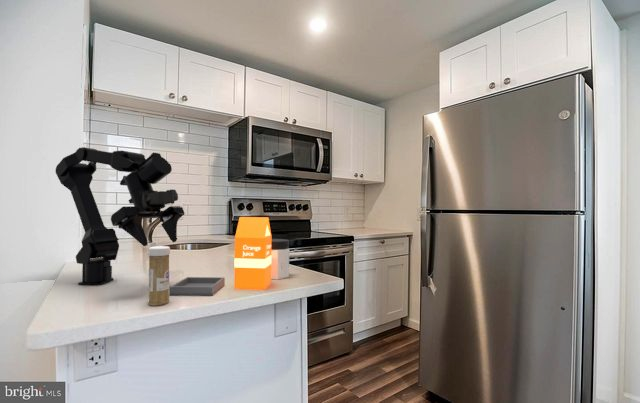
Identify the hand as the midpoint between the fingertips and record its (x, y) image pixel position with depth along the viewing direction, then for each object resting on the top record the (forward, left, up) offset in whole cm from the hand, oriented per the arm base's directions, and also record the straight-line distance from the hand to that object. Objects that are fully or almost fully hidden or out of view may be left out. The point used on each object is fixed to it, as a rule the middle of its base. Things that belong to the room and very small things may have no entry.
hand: (161, 243), depth 85 cm
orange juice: (+23, +8, -13) cm, 28 cm away
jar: (+28, +20, -13) cm, 37 cm away
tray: (+9, +3, -13) cm, 16 cm away
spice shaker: (+4, -9, -13) cm, 17 cm away
